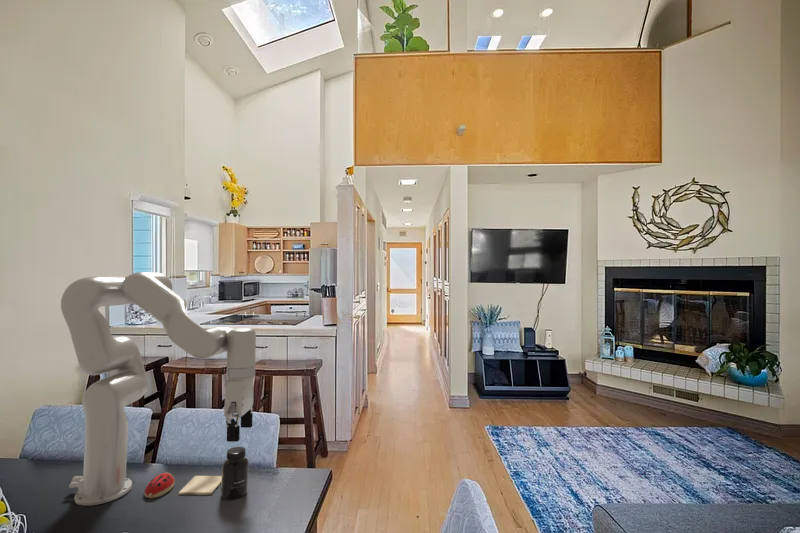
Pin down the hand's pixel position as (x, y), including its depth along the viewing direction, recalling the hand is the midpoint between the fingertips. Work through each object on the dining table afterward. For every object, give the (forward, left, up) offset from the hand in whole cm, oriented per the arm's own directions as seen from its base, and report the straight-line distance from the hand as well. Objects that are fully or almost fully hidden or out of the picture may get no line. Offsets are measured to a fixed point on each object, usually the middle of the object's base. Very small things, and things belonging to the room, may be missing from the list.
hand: (240, 433), depth 108 cm
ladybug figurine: (-23, +2, -17) cm, 28 cm away
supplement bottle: (-1, 0, -17) cm, 17 cm away
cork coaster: (-12, +4, -17) cm, 20 cm away
